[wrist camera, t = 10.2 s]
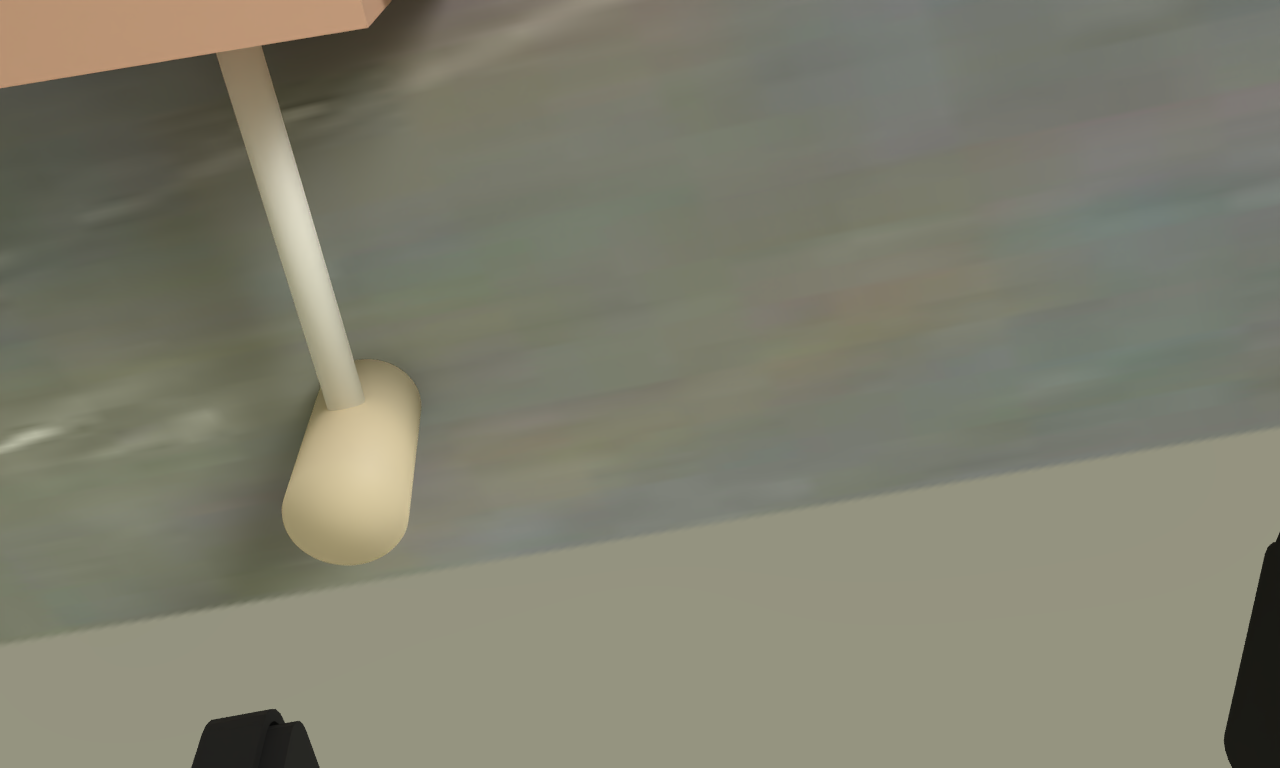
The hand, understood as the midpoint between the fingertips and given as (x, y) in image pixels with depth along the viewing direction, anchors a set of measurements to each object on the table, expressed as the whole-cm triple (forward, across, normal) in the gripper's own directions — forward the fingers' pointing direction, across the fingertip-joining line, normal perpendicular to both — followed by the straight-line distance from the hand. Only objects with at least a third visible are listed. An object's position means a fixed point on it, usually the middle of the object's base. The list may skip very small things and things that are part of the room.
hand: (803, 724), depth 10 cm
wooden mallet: (+21, +8, -3) cm, 22 cm away
